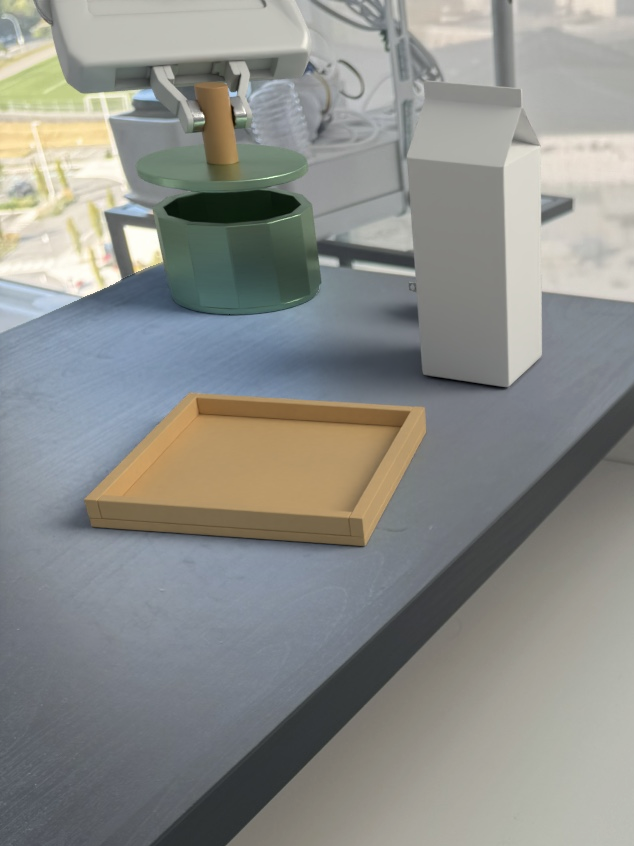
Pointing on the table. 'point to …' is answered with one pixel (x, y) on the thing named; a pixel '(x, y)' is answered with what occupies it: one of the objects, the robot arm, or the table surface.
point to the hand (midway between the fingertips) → (220, 126)
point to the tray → (263, 470)
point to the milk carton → (476, 233)
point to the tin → (238, 250)
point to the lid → (220, 155)
